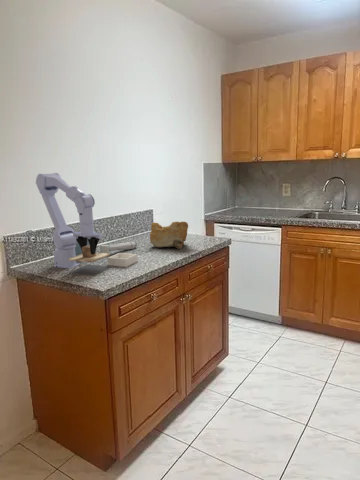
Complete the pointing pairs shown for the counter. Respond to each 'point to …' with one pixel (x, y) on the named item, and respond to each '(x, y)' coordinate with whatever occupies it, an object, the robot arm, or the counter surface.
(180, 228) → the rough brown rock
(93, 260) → the lid
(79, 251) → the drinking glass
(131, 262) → the dish
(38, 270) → the counter surface
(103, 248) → the toothpaste tube
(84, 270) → the mat
